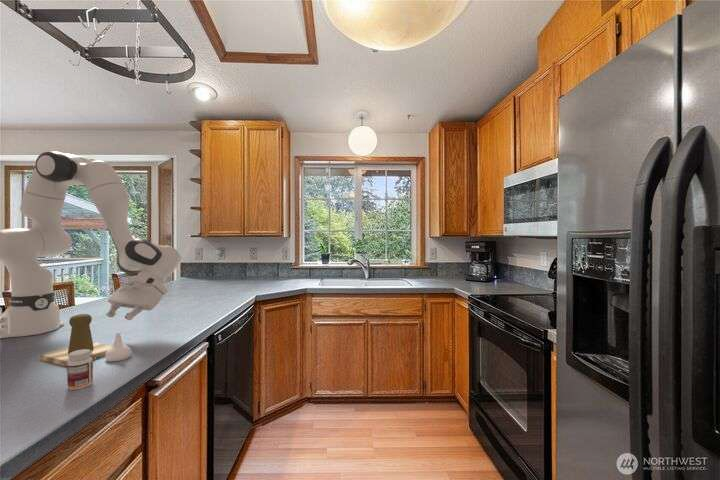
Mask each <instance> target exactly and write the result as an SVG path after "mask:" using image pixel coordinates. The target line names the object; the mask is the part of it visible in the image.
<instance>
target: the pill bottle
mask: <svg viewBox="0 0 720 480" xmlns="http://www.w3.org/2000/svg"><path fill="white" fill-rule="evenodd" d="M90 356H91V353H90V350H89V349H82V350H77V351H73V352H71V353H69V360H70V361H69V362H68V363H67V367H66V371H67V373H66V374H67V376H66V378H67V390H69V391H70V390H71V391H77V390H81V389H85V388H87V387H89V386H91V385H92V384H93V382H94V379H93V377H94V376H93V375H94V373H93V370H94V369H93V367H94V365H93V360H92V358H91V357H90Z"/></svg>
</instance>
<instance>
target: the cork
mask: <svg viewBox="0 0 720 480" xmlns="http://www.w3.org/2000/svg"><path fill="white" fill-rule="evenodd" d="M92 318H93V317H92V315H91V314H88V313H80V314H74V315H73V316H70V318H69V322H68V323H69V325H70V327H71V330H70V336H69V343H68V347H69V349H68V354H69V353H71V352H73V351H77V350H82V349H89V350H90V351H91V350H93V349H94V346H93V342H94V341H93V337H92V336H93V335H92V332H91V326H90V324H91V323H92Z"/></svg>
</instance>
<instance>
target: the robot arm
mask: <svg viewBox="0 0 720 480" xmlns="http://www.w3.org/2000/svg"><path fill="white" fill-rule="evenodd" d="M71 186H78V187H85V188H86V190H87V193H88V195H89V197H90V199H91V200H92V202H93V204H94V207H95V208H96V210H97V212H98V213H99V214H100V217H101V218H102V220H103V222H104V225H106V228H107V231H108V233H109V235H110V238H111V240H112V242H113V244H114V245H113V246H114V247H115V249H116V253H117V255H116V256H117V257H116V265H117V267H118V268H119V270H120V271H121V272H123V273H125V274H128V275H136V276H135V277H134V278H133V279H132V280H131V282H128V283H126V284H123V285H121V286H120V287H118V288H117V289H116V290H115V291H114V292H113V293H112V294H110V296H109V297H108V300H107V302H108V303H109V304H110V308H109V310H108V312H107V313H106V316H107V317H108V318H114V317H115V315H117V313H116V312H117V311H118V309H120V308H127V309H132V310H131V311H130V312H127V313H126V314H125V316H124V319H126V320H128V321H132V319H134V317H136V316H137V315H138V314H140V313H141V312H142V311H147V312H148V311H152V310H153V309H155V308H156V307H157V306H158V304H159V303H160V301H161V300H162V299H163V296H165V295H167V294H168V292H169V290H168V288H167V287H166V286H165V285H164V284H165V282H166V280H167V278H169V277H170V276H171V275H173V273H174V272H175V270H176V269H177V267H178V266H179V264H180V262H181V255H180V252H179V251H178V250H177V249H175V248H174V247H173V246H171V245H162V244H157V243H154V242H152V241H149V240H147V239H144V238H134V237H133V235H132V233H131V230H130V228H129V224H128V215H129V209H130V204H131V201H130V197H129V194H128V190H127V188H126V186H125V184H124V182H123V181H122V178H121V177H120V176H119V174H118V173H117V171H116V170H115V169H114V167H113V166H112V165H111V164H110V163H108V162H106V161H103V160H97V159H94V158H88V157H85V156H82V155H78V154H71V153H65V152H63V153H62V152H60V151H44V152H42V153H40V154H39V155H38V156H37V158H36V160H35V168H34V169H33V171H32V172H31V174H30V176H29V178H28V181H27V182H26V185H25V189H24V192H23V195H22V200H21V203H20V207H19V209H20V213H22V215H23V216H24V217H26V218H27V219H29V220H31V228H18V227H17V228H13V227H12V228H3V229H0V262H1V263H2V265H4V267H6V269H7V272H8V273H9V277H10V285H11V286H10V287H11V295H10V297H9V299H8V307H7V308H6V309H5V311H3V312H2V314H0V339H6V338H16V337H18V338H19V337H26V336H34V335H39V334H44V333H49V332H53V331H55V330H57V329H59V328H60V327H62V326H64V325H65V322H62V321H61V317H60V316H61V315H60V307H59V305H58V304H56V303H55V297H56V296H55V292H54V290H53V289H54V286H53V273H52V271H51V270H49V269H47V268H45V267H42V266H41V265H40V263H39V262H38V258H43V257H44V258H45V257H46V258H47V257H48V258H49V257H55V256H59V255H63V254H66V253H68V252H69V251H70V249H71V247H72V244H73V240H72V238H71V236H70V234H69V233H68V232H66V231H65V229H64V227H63V225H62V222H61V221H62V219H61V218H62V212H63V207H64V204H65V200H66V196H67V192H68V190H69V188H70V187H71Z"/></svg>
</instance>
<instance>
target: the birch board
mask: <svg viewBox="0 0 720 480" xmlns="http://www.w3.org/2000/svg"><path fill="white" fill-rule="evenodd" d="M93 346H94V349H93V350H91V351H90V353H91V356H90V357H91V358H92V359H93V360H96V359H99V358H103V357H105V354H106V352H107V350H108V349H110V348H111V347H113V345H111V344H105V343H101V342H96V341H93ZM68 349H69V346H68V347H65V348H61V349H57V350H53V351H49V352H45V353H41V354H40V360H41V361H44V362H48V363H52V364H55V365H59V364H60V365H59V366H62V365H64V367H66V366H67V363H68V362H69V361H70V360H69V354H68ZM102 356H103V357H102ZM95 358H96V359H95Z"/></svg>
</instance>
